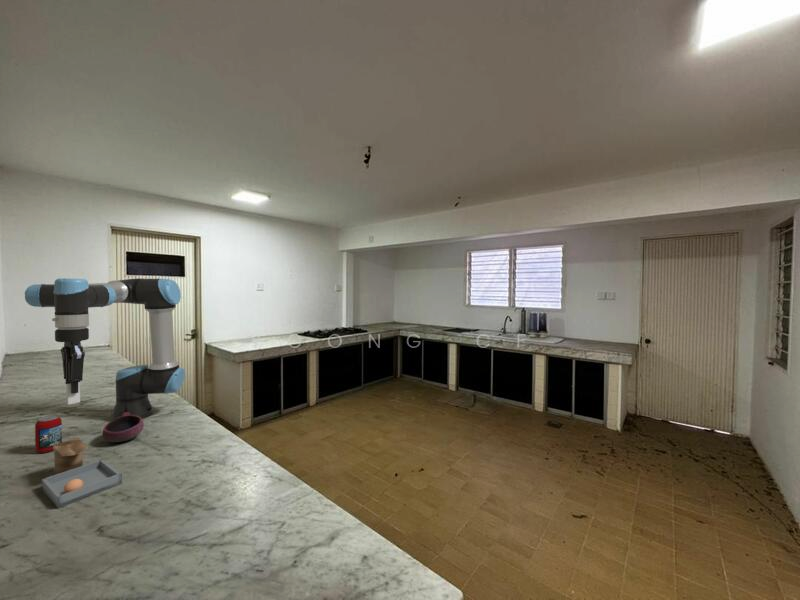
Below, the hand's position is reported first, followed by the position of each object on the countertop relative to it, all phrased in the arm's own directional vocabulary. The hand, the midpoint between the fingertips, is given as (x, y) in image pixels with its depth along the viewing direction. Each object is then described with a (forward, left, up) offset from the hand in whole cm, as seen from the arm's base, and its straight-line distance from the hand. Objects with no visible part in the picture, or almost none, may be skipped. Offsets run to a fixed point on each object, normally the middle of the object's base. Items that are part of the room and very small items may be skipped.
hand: (73, 402), depth 104 cm
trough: (0, -3, -24) cm, 24 cm away
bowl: (-19, -21, -24) cm, 38 cm away
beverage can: (-1, -32, -24) cm, 41 cm away
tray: (0, +8, -24) cm, 25 cm away
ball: (+3, +12, -21) cm, 25 cm away
